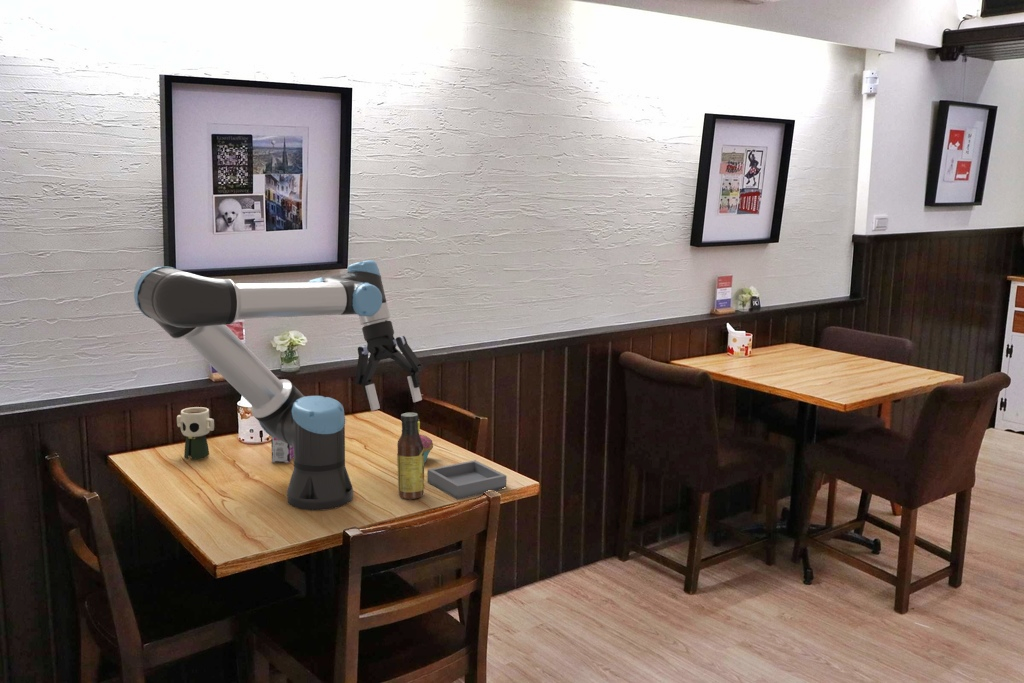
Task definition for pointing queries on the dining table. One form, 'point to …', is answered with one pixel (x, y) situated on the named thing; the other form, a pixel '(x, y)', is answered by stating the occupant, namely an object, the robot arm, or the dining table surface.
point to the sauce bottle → (410, 459)
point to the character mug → (195, 431)
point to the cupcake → (425, 443)
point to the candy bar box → (281, 451)
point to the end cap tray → (466, 479)
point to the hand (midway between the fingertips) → (396, 405)
